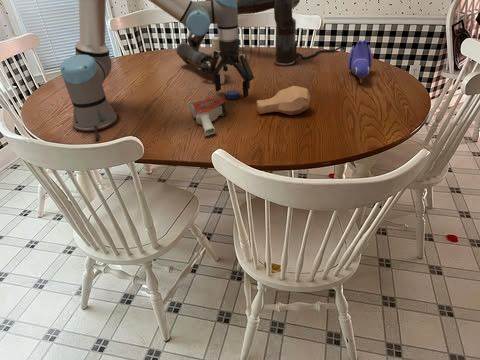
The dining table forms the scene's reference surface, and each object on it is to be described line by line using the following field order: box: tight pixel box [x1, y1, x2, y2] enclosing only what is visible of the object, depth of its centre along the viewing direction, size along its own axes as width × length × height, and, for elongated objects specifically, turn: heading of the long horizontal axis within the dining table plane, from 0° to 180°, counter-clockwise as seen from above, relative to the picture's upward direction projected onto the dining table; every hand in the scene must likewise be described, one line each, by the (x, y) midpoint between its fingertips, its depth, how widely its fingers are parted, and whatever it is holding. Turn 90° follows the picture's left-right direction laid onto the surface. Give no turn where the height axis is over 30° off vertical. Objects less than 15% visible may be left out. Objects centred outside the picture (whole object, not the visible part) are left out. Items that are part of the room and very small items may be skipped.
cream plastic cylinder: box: [211, 36, 225, 85], centre depth 154 cm, size 4×4×19 cm
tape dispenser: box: [188, 97, 226, 137], centre depth 128 cm, size 18×5×20 cm
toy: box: [347, 39, 373, 84], centre depth 152 cm, size 10×17×25 cm
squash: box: [255, 85, 312, 116], centre depth 130 cm, size 11×20×9 cm, turn 92°
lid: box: [226, 89, 240, 100], centre depth 145 cm, size 5×5×2 cm
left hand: (231, 93), depth 145 cm, fingers open, 13 cm apart
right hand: (221, 70), depth 155 cm, fingers closed on cream plastic cylinder, 4 cm apart
